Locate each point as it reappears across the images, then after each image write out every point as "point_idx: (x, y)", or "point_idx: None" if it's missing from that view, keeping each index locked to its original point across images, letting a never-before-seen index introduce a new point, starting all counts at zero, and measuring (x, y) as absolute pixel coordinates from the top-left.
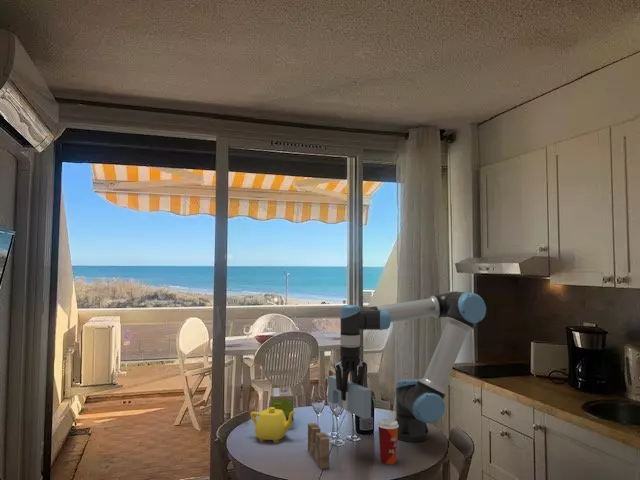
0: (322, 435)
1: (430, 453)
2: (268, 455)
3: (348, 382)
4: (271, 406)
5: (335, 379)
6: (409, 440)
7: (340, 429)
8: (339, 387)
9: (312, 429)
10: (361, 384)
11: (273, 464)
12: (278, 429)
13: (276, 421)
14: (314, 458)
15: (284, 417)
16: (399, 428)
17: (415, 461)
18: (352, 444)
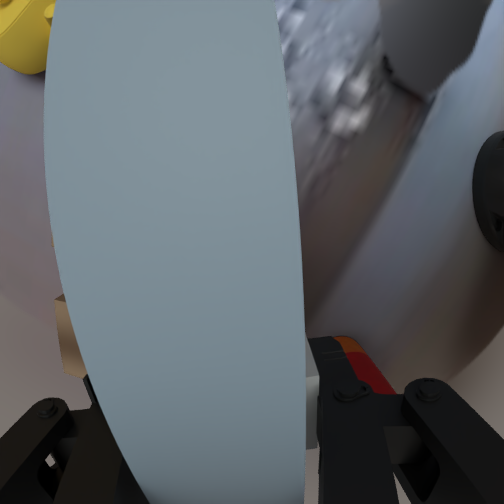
0: (74, 340)
1: (470, 340)
2: (8, 167)
3: (213, 494)
4: None
5: (58, 43)
6: (489, 240)
7: (332, 6)
8: (52, 478)
9: (52, 243)
10: (418, 480)
11: (7, 238)
12: (27, 64)
13: (7, 51)
14: None
15: (50, 4)
16: (501, 205)
17: (403, 378)
18: (305, 164)
